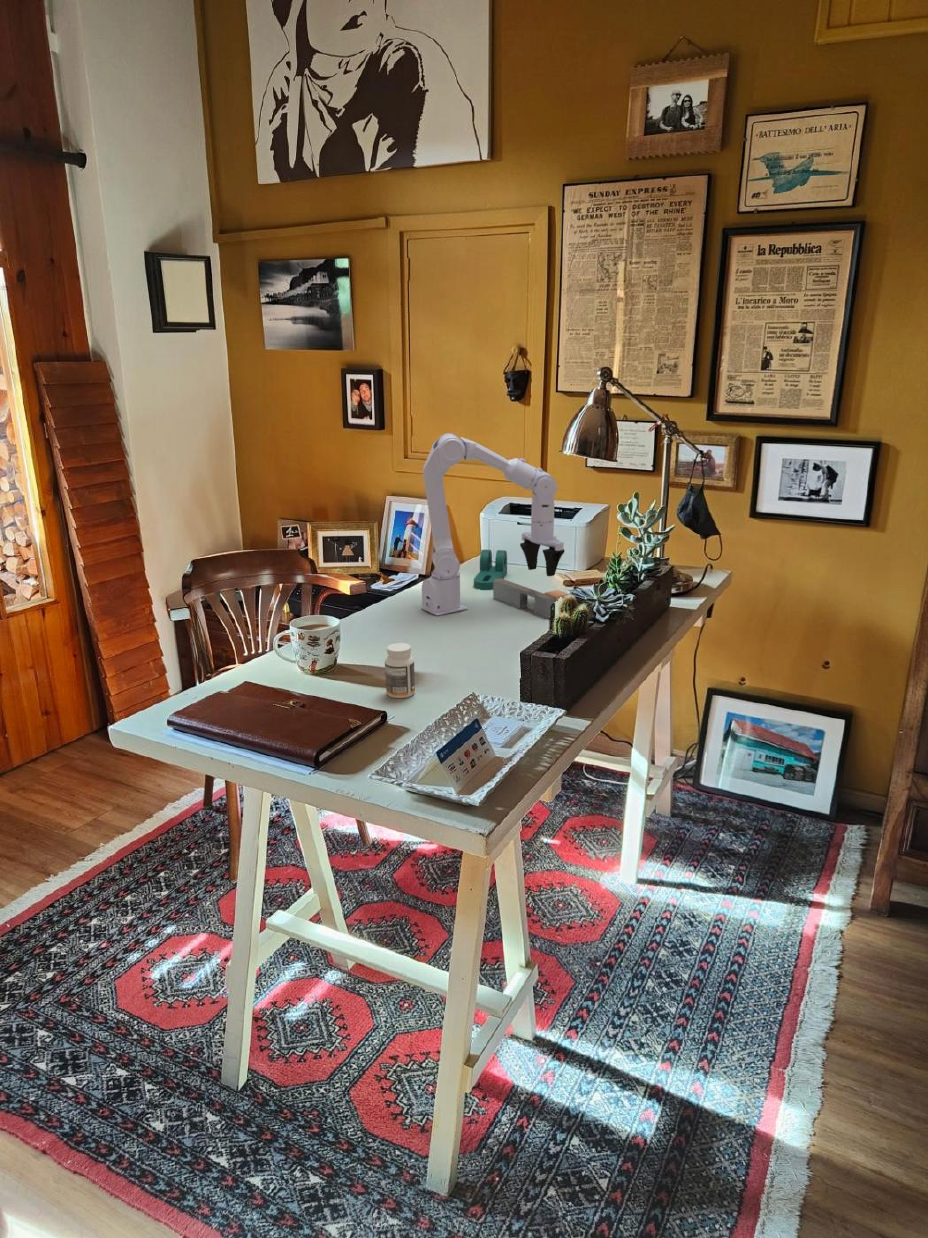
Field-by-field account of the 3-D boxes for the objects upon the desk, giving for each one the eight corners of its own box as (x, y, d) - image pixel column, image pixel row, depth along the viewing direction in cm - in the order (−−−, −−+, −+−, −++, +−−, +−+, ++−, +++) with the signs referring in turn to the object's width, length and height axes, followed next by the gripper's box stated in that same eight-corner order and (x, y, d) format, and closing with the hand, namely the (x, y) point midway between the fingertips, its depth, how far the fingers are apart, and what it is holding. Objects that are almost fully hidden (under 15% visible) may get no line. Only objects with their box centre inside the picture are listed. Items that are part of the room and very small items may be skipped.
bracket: (484, 573, 262) (484, 547, 260) (507, 574, 261) (507, 547, 259) (471, 590, 246) (471, 562, 243) (495, 591, 244) (495, 563, 242)
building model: (546, 619, 220) (546, 599, 218) (493, 598, 237) (493, 579, 236) (553, 617, 221) (554, 597, 220) (500, 596, 238) (500, 578, 237)
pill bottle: (400, 686, 180) (398, 639, 177) (421, 692, 177) (419, 645, 174) (380, 694, 176) (378, 647, 173) (401, 701, 173) (399, 654, 170)
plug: (543, 611, 226) (543, 599, 225) (532, 607, 229) (532, 595, 228) (568, 605, 231) (569, 593, 230) (557, 601, 234) (557, 589, 233)
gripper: (573, 523, 221) (571, 576, 226) (537, 514, 233) (535, 564, 237) (551, 527, 218) (550, 580, 222) (515, 517, 229) (514, 568, 233)
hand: (541, 572), depth 229 cm, fingers open, 7 cm apart
